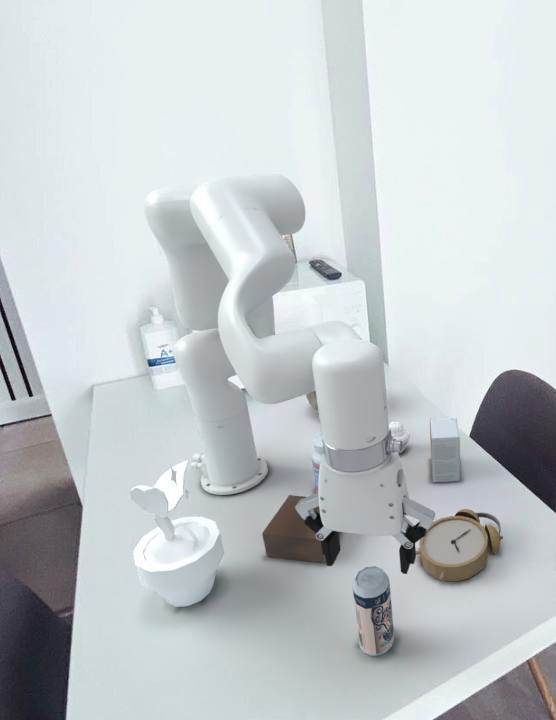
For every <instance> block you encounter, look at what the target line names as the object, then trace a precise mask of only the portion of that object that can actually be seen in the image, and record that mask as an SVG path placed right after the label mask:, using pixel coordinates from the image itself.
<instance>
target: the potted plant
mask: <svg viewBox="0 0 556 720" xmlns="http://www.w3.org/2000/svg"><path fill="white" fill-rule="evenodd" d="M189 462H190V460H189V459H186V460H184V461H182V462H179V463H178V464H175V465H173V466H172V465H170V468H169V469H167V470H166V471H165V472H164V473H163V474H162V475H161V476H160V477H159V478H158V480H157V481H156V482H155V484H154V486H150V485H138V484H137V485H135V486H133V488H130V491H129V493H130V499H131V501H132V502H134V504H136V506H138V507H139V508H140V509H141V510H143V511H144V512H147V513H148V514H149V515H152V516H155V517H154V520H155V522H156V525H157V526H156V527H155V528H154V529H152V530H151V531H149V532H148V533H147V534H145V535H144V536H142V537H141V538H140V540H139V542H138V543H137V544H136V546H135V547H134V550H133V551H132V555H133V561H134V567H135V569H136V571H137V572H136V573H137V576H138V578H139V581H140V584H141V586H142V587H144V588H145V589H148V590H150V591H152V592H153V593H156V594H159V596H160V597H161V598H162V599H164V601H166V603H168V604H169V605H171V606H174V607H175V608H182V607H190V606H192V605H194V604H196V603H199V602H202V600H203V599H204V598H206V597H207V596H209V594H210V593H211V592H212V589H213V588H214V585H215V579H216V574H217V569H218V568H219V567H220V565H221V562H222V560H223V557H224V555H225V549H224V545H223V541H222V537H221V533H220V530H219V528H218V526H217V522H216V521H214V520H212V519H209V518H207V517H204V516H200V515H199V516H186V517H179V518H177V519H174V520H170V518H169V516H168V514H169V512H172V511H174V510H175V509H176V507H177V506H178V505H179V503H180V501H181V500H182V498H183V497H185V498H186V500H187V501H188V502H189V490H187V489H185V475H186V472H187V468H188V465H189Z"/></svg>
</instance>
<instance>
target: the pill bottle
mask: <svg viewBox="0 0 556 720" xmlns="http://www.w3.org/2000/svg"><path fill="white" fill-rule="evenodd" d="M313 449H314V450H313V451H312V452H311V464H312V472H313V479H314V487H315V488H314V489H315V491H316V493H318V482H319V468H320V460H321V457H322V455H323V453H324V449H323V441H322V434H320V435H318V436H316V437H315V438H314V439H313Z"/></svg>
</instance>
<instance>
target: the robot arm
mask: <svg viewBox="0 0 556 720" xmlns="http://www.w3.org/2000/svg"><path fill="white" fill-rule="evenodd" d="M143 206H144V208H143V209H144V215H145V219H146V222H147V225H148V227H149V230H150V231H151V233H152V234H153V236H154V238H155V239H156V241H157V242H158V244H159V246H160V247H161V249H162V250H163V253H164V255H165V257H166V261H167V265H168V266H167V267H168V272H169V279H170V284H171V290H172V296H173V300H174V306H175V311H176V314H177V317H178V319H179V321H180V323H181V324H182V326H183V327H184V328H185V329H188V330H190V331H194V332H191V333H188V334H186V335H184V336H183V337H181V338H179V340H177V341H176V343H175V345H174V346H173V358H174V362H175V365H176V367H177V370H178V372H179V374H180V376H181V378H182V380H183V381H182V382H183V383H184V386H185V388H186V391H187V394H188V398H189V402H190V404H191V409H192V413H193V417H194V422H195V425H196V429H197V434H198V438H199V442H200V446H201V450H202V453H201V452H193V454H192V456H191V461H192V462H191V463H190V468H191V469H195V470H201V471H202V474H201V476H200V483H201V487H202V489H203V490H204V491H205V492H206V493H209V494H213V495H216V496H228V495H229V496H230V495H236V494H239V493H243V492H246V491H248V490H250V489H252V488H254V487H256V486H258V485H259V484H260V483H261V482H262V481H263V480H264V479H265V478H266V476H267V474H268V472H269V468H268V464H267V461H266V460H265V459H264V458H262V457H261V456H258V453H257V449H256V443H255V438H254V433H253V428H252V423H251V416H250V411H249V406H248V401H247V397H246V395H245V392H244V391H243V389H242V388H240V387H239V386H238V385H237V384H235V383H234V382H232V381H231V380H229V379H230V378H231V377H232V378H233V377H234V376H237V377H238V380H239V381H240V383H241V384H242V386H243V387H244V389H245V390H246V392H247V393H248V394H249V396H250V397H251V398H253V399H254V400H255V401H257V402H259V403H261V404H263V405H276V404H280V403H284V402H287V401H290V400H293V399H295V398H299V397H302V396H304V395H305V396H306V394H308V393H311V392H314V391H316V398H317V405H318V411H317V412H318V419H319V425H320V426H319V427H320V433H321V434H320V435H322V441H323V449H324V453H323V455H322V457H321V460H320V468H319V482H318V493H317V492H316V493H313V494H310V495H308V496H305V498H303V499H300V500H299V502H298V503H297V505H296V506H295V509H296V510H297V512H298V513H299V515H300V516H301V517H302V519H304V520H305V521H304V523H305V525H306V526H308V527H309V528H310V529H311V530H312V531H314V532H315V533H316V538H317V539H318V540H321V546H322V552H323V555H325V559H326V560H325V564H326V566H327V567H332V566H334V564H335V562H336V560H337V559H338V556H339V554H340V552H341V540H340V533H348V534H357V535H370V536H379V537H393V538H394V539H395V540H396V541H397V542H398V543H399V544H400V547H399V550H398V553H399V564H400V566H399V567H400V573H402V574H403V575H408V572H409V568H410V566H411V565H414V564H415V562H416V558H417V555H416V551H417V550H416V549H417V548H416V543H418V542H420V539H421V538H423V537H424V536H425V534H426V532H427V530H428V529H429V528H430V526H431V524H432V523H433V522H434V520H435V517H436V512H435V511H434V510H433V509H430V508H429V507H426V506H425V505H422V504H420V503H419V502H417V501H414V500H413V499H410V498H409V491H408V485H407V478H406V475H405V470H404V467H403V463H402V459H401V457H400V453H399V454H398V452H401V451H402V440H396V439H393V437H392V436H391V430H389V423H390V421H389V411H388V401H387V400H388V399H387V387H386V374H385V361H384V355H383V353H382V351H381V349H380V348H379V347H378V345H376V344H375V343H373V342H371V341H368V340H364V339H362V337H361V336H360V335H359V334H358V333H357V332H356V330H355V329H354V328H353V327H352V326H351V325H349V324H348V323H347V322H344V321H341V320H329V321H324V322H321V323H316V324H311V325H309V326H304V327H299V328H295V329H292V330H287V331H284V332H283V331H282V332H280V333H276V325H275V323H276V321H275V307H274V306H275V305H274V296H275V295H277V294H278V293H279V292H280V291H281V290H282V289H283V288H285V287H286V286H287V284H289V282H290V281H291V280H292V278H293V276H294V274H295V271H296V266H297V265H296V258H295V256H294V253H293V252H292V249H291V248H289V245H287V243H286V241H285V240H284V238H283V237H282V236H289V235H295V234H296V233H298V232H300V230H302V228H303V226H304V225H305V222H306V206H305V201H304V199H303V197H302V194H301V193H300V190H299V189H298V188H297V186H296V185H295V184H294V183H293V182H292V181H291V179H288V178H287V177H285V176H284V175H281V174H275V173H274V174H273V173H272V174H271V173H270V174H267V173H266V174H254V175H239V176H225V177H218V178H213V179H209V180H207V181H205V182H202V183H199V184H188V185H176V186H170V187H169V186H168V187H161V188H157V189H155V190H152V191H151V192H149V193H148V195H147V196H146V197H145V200H144V203H143ZM316 507H319V509H320V514H319V513H318V512H316V511H314V509H313V508H316ZM407 516H410V517H412V518H413V519H416V520H418V522H417V523H415V524H413V523H412V521H410V519H409V518H407ZM338 532H340V533H338Z"/></svg>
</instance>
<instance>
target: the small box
mask: <svg viewBox="0 0 556 720" xmlns="http://www.w3.org/2000/svg"><path fill="white" fill-rule="evenodd" d="M457 418H458V417H456V416H447V417H430V418H429V435H430V436H429V437H430V459H431V460H430V461H431V476H432V483H449V482H460V481H461V438H460V432H459V427H458V420H457Z"/></svg>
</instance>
